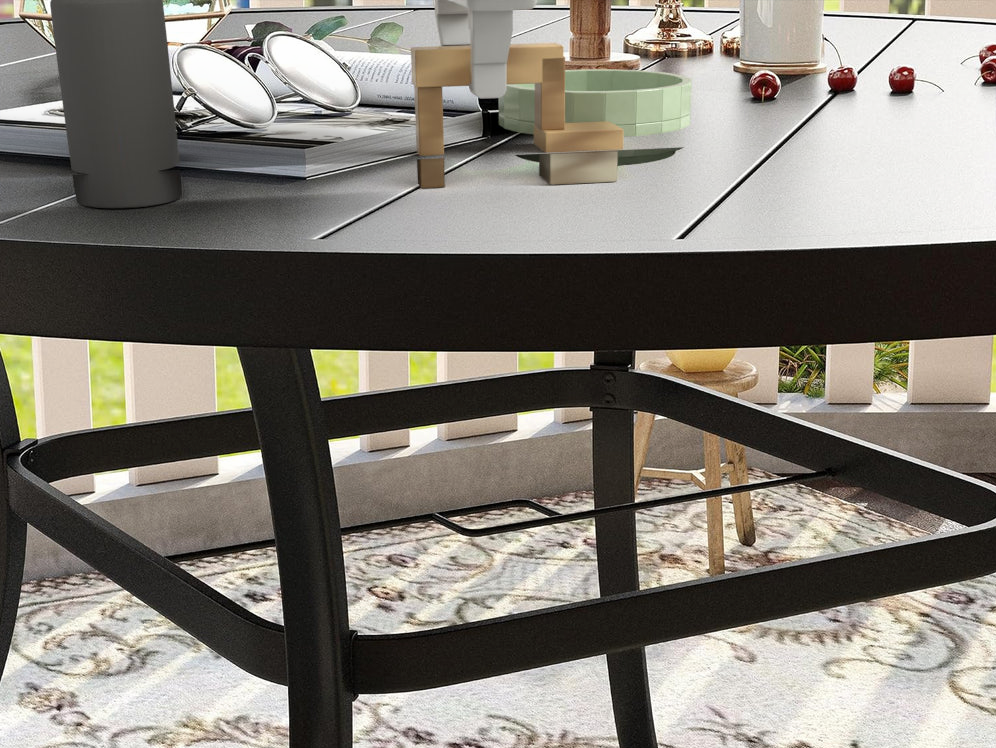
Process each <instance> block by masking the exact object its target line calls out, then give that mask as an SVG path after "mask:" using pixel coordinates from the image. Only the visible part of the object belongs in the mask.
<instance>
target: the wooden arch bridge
mask: <svg viewBox="0 0 996 748" xmlns="http://www.w3.org/2000/svg"><path fill="white" fill-rule="evenodd" d="M564 54H565V53H564V45H562V44H560V43H557V42H535V43H534V42H532V43H510V48H509V54H508V59H507V63H506V84H533V83H535V125H534V134H533V145H534V146H536V147H537V148H539V149H540V150H541V151H542V152H544V153H538V154H539V162H538V176H539V177H541V178H542V179H543V180H545V182H546V183H548V184H549V185H551V186H555V185H556V186H557V185H558V186H559V185H574V184H575V185H576V184H577V185H578V184H579V185H580V184H596V183H616V182H618V165H617V160H618V151H617V150H624V138H625V137H624V130H623V129H622V128H620V127H618V126H616V125H615V124H613V123H611V122H609V121H604V122H580V123H565V70H566V57H565V55H564ZM468 61H471V57H470V45H466V46H441V45H439V46H438V45H437V46H436V45H435V46H411V47H410V64H411V65H410V66H411V67H410V68H411V84H412V85H413V86H414V116H415V119H414V120H415V143H416V144H415V147H416V148H415V149H416V153H417V155H418V156H420V157H424V156H425V157H427V156H443V155H445V141H444V140H445V139H444V138H445V136H444V105H443V104H444V103H443V88H445V87H447V88H449V87H450V88H451V87H469V66H468ZM416 169H417V170H416V171H417V172H416V174H417V175H416V176H417V177H416V178H417V184H418V186H419V187H420V188H421V189H440V188H445V186H446V176H445V158H444V157H438V158H437V157H436V158H435V157H434V158H416Z"/></svg>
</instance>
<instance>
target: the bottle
mask: <svg viewBox="0 0 996 748" xmlns="http://www.w3.org/2000/svg"><path fill="white" fill-rule="evenodd" d="M49 4H50V17H51V24H52V31H53V33H52V34H53V38H54V39H53V40H54V48H55V56H56V65H57V70H58V72H57V73H58V77H59V78H58V79H59V85H60V94H61V101H62V109H63V117H64V123H65V131H66V139H67V140H66V141H67V146H68V153H69V161H70V168H71V170H72V171H73V172H76V173H79V174H72V182H73V189H74V195H75V199H76V203H78V204H79V205H82V206H86V207H89V208H96V209H134V208H135V209H137V208H145V207H146V208H147V207H153V206H157V205H164V204H168V203H171V202H173V201H176V200H179V199H180V198H182V195H183V187H182V173H181V169H171V168H175V167H177V166H179V165H180V152H179V144H178V143H179V142H178V133H177V123H176V111H175V102H174V101H175V100H174V95H173V94H174V92H173V84H172V83H173V82H172V75H171V74H172V73H171V63H170V56H169V55H170V54H169V46H168V45H169V44H168V35H167V27H166V18H165V17H166V16H165V8H164V2H163V0H50V2H49ZM169 169H171V170H169Z"/></svg>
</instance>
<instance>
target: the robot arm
mask: <svg viewBox="0 0 996 748" xmlns="http://www.w3.org/2000/svg"><path fill="white" fill-rule="evenodd" d="M537 3H538V0H434V17H435V23H436V28H437V32H438V33H437V34H438V38H439V44H440V46H466V45H470V57H471V61H468V66H469V86H468V89H469V91H470V93H471V94H472V95H474V96H475V97H476V98H479V99H483V100H484V99H499V98H500V97H502V96H503V95H504V94H505V92H506V63H507V59H508V54H509V48H510V44H512V43H511V42H512V37H513V33H514V32H513V31H514V11H529V10H533V9H534V8H535V7H536V5H537Z"/></svg>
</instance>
